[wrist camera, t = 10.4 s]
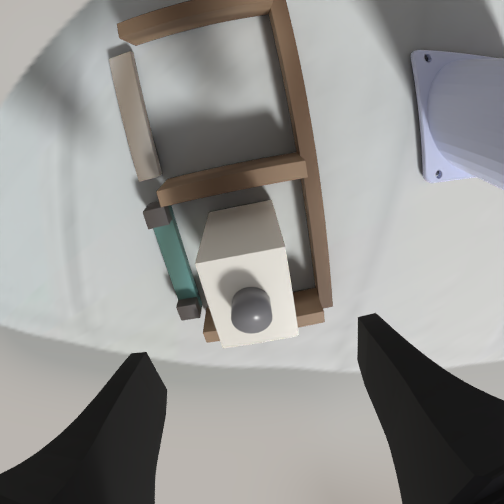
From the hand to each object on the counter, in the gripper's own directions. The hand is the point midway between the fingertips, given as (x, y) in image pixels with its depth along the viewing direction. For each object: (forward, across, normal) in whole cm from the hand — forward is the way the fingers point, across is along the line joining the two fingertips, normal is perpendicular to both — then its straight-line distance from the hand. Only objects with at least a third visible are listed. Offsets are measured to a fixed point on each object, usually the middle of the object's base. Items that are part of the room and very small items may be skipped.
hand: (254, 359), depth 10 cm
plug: (+9, 0, 0) cm, 9 cm away
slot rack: (+9, 0, -4) cm, 10 cm away
